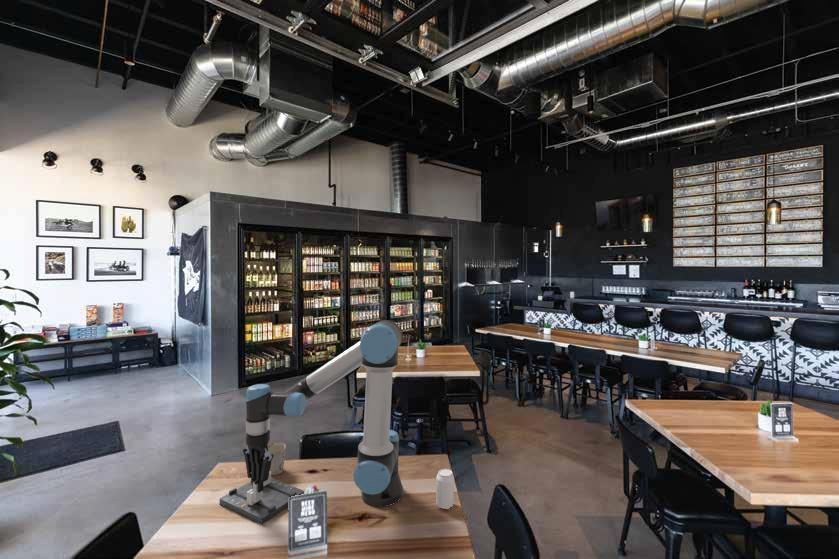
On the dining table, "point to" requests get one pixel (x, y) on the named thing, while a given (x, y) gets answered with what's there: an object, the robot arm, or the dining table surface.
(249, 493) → the fader
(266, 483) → the fader
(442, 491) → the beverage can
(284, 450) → the mug
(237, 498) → the console
